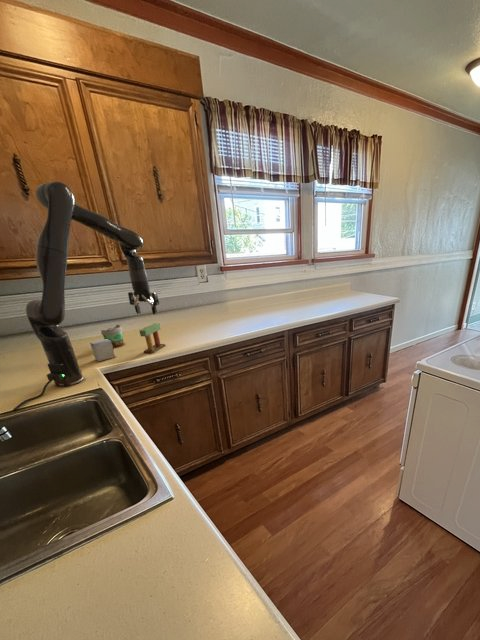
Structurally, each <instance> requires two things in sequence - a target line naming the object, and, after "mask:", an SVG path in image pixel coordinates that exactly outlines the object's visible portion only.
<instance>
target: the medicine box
mask: <svg viewBox="0 0 480 640" xmlns="http://www.w3.org/2000/svg"><path fill="white" fill-rule="evenodd" d="M90 347H91V350H92V354H93V356H94V359H95V360H96V361H97V362H102V361H106V360H110V359H113V358H116V354H115V351H114V348H113V347H112V344H111V341H110V340H108V339H104V338H103V339H100V340H96V341H92V342H90Z"/></svg>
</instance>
